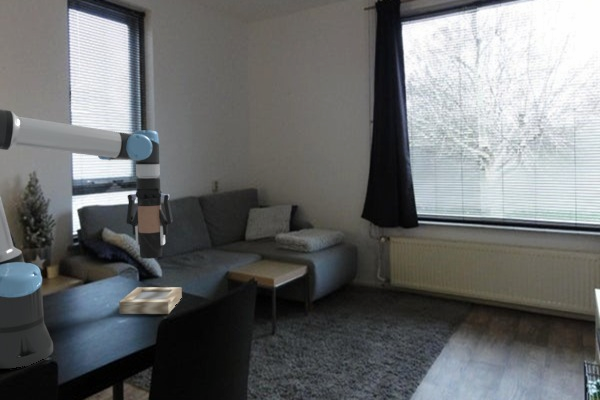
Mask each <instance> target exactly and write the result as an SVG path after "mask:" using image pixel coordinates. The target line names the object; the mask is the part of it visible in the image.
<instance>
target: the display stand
mask: <svg viewBox="0 0 600 400" xmlns="http://www.w3.org/2000/svg"><path fill="white" fill-rule="evenodd" d="M182 290H183V289H182V287H181V286H180V287H179V286H178V287H173V286H171V287H169V286H166V287H161V286H159V287H157V286H156V287H155V286H154V287H153V286H149V287H148V286H147V287H146V286H145V287H144V286H143V287H142V286H140V287H139V286H137V287H136V288H134V289H133V290H132V291H130V293H128V294H127V295H126V296H125V297H123V298H122V299H121V300H120V301H119V305H118V307H119V314H120V315H125V314H126V315H127V314H129V315H136V314H137V315H158V314H159V315H170V313H171V312H172V310H173V309H174V308H175V307H176V306H177V305H178V304H179V303H180V301H181V300H182V299H183V295H182V293H183V292H182ZM181 298H182V299H181ZM180 299H181V300H180ZM176 304H177V305H176ZM175 305H176V306H175Z"/></svg>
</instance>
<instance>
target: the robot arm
mask: <svg viewBox="0 0 600 400" xmlns="http://www.w3.org/2000/svg"><path fill="white" fill-rule="evenodd" d="M15 147H16V148H24V149H31V150H41V151H50V152H60V153H68V154H75V155H76V154H79V155H85V156H86V155H87V156H96V157H98V158H99V160H102V161H103V160H105V161H106V160H108V161H111V160H112V161H113V160H114V161H116V160H117V161H119V160H120V161H123V160H125V161H135V170H136V171H135V176H136V177H137V178H136V192H135V193H134V194H133V193H130V194H128V195H127V201H128V203H127V204H128V205H127V206H128V207H127V214H126V224H128V225H131V226H132V235H133V236H135V246H139V234H138V208H137V210H136V212H135V205H136V200H137V198H138V199H155V198H161V200H162V201H163V207H164V211H165V213H164V211H163V208H162V207H161V210H160V209H159V218H160V221H161V223H162V225H161V226H160V239H161V245H162V246H164V245H165V244H166V236H167V235H168V233H169V231H168V229H169V227H168V226H169V225H170V224H173V222H174V218H173V213H172V208H171V203H170V202H171V201H170V199H171V194H169V193H168V194H166V193H163V192H162V191H161V178H160V176H161V173H160V172H161V169H160V168H161V165H160V140H159V133H158V132H157V131H156V130H150V129H149V130H144V129H143V130H135V131H134V133H127V132H126V133H125V132H119V131H113V130H109V129H108V130H107V129H101V128H94V127H88V126H81V125H76V124H75V125H74V124H68V123H64V122H63V123H62V122H57V121H49V120H44V119H37V118H31V117H24V116H23V117H22V116H18V115H16V114H15V113H14V111H11V110H6V109H0V150H3V151H4V150H6V151H10V150H11V149H12V148H15ZM134 213H135V214H134ZM23 255H24V254H23V252H22V250H20V249H19V248H16V247H15V246H14V243H13V240H12V236H11V231H10V228H9V224H8V220H7V216H6V212H5V208H4V204H3V200H2V197H1V195H0V368H16V367H21V368H25V367H29V366H32V365H34V364H33V363H35V364H37V363H39V362H38V361H40V360H42V359H44V360H45V359H47V358H49V357H50V356H51V355H52V354H53V352H54V343H53V340H52V337H51V336H50V333H49V330H48V328H47V326H46V324H45V320H44V319H45V317H44V316H45V315H44V303H43V302H44V300H43V299H44V298H43V276H42V273H41V269H40V268H39V266H38V265H36V264H34V263H30V262H25V260H24V256H23ZM42 361H43V360H42ZM36 362H37V363H36ZM40 362H41V361H40ZM31 364H32V365H31ZM22 366H23V367H22ZM24 366H25V367H24Z"/></svg>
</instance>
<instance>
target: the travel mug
mask: <svg viewBox="0 0 600 400" xmlns="http://www.w3.org/2000/svg"><path fill="white" fill-rule="evenodd" d="M136 200H137V201H136V202H137V203H136V204H137V209H138V234H139V245H138V247H139V257H140V258H141V259H148V260H149V259H156V258H161V257H162V256H163V245H161V239H160V226H161V225H162V223H161V221H160V218H159V209H160V210H161V208H162V197H161V198H155V199H138V198H137V197H136Z"/></svg>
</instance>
